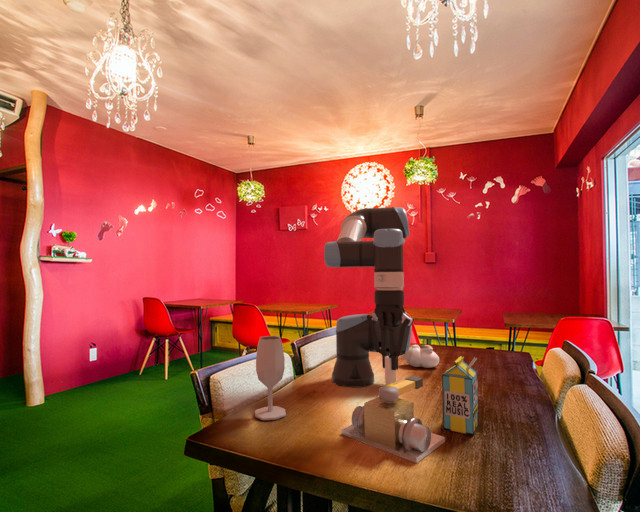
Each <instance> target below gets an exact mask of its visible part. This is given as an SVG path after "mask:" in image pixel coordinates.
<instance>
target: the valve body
mask: <svg viewBox="0 0 640 512" xmlns="http://www.w3.org/2000/svg"><path fill="white" fill-rule="evenodd" d="M414 405H415V404H414V401H412V400H407V399H403V398H400V397H399V399H398V400H397V401H383V400H381V399H379V396H377V397H374V398H372V399H370V400H368V401H366V402H364V404H363V406H362V405H357V406H356V407H355V408H354V410H353V411H352V413H351V424H349V425H348V426H346V427H344V428H342V429H341V430H340V434H341V435H342V436H345V437H348V438H350V439H353V440H356V441H358V442H361V443H363V444H366V445H369V446H371V447H373V448H376V449H379V450H381V451H384V452H386V453H389V454H391V455H394V456H397V457H399V458H402V459H404V460H406V461H407V460H408V461H410V462H413V463H415V464H418V463H419V462H420V461H421V460H423V459H424V458H426V457H427V456H428V455H429V454H431V453H432V452H434V451H435V450H437V448H439V447H440V446H441V445H443V444H444V443H445V442H446V436H443V435H440V434H437V433H433V432H432V430H431V428H430V427H429V426H427V425H424V424H423V422H422V420H421V419H420V418H417V417H415V415H414V411H415V410H414Z"/></svg>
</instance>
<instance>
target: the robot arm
mask: <svg viewBox="0 0 640 512" xmlns="http://www.w3.org/2000/svg"><path fill="white" fill-rule="evenodd" d="M409 237H410V227H409V219H408V215H407V211H406V209H405V208H404V207H403V206H402V207H399V206H397V207H394V206H392V207H373V208H372V207H371V208H369V207H367V208H361V209H357V210H356V211H354V212H351V213H350V214H348V215H347V216H346V217H345V218H344V219H343V221H342V222H341V225H340V233H339V235H338V238H337V239H336V241H335V240H333V241H327V242H326V243H325V244H324V248H323V257H324V264H325V266H326V267H328V268H337V269H338V268H373V273H374V274H373V275H374V276H373V279H374V280H373V281H374V282H373V283H374V288H375V290H374V292H373V293H374V304H375V308H374V311H373V313H371V314H367V313H361V314H360V313H359V314H352V315H350V314H349V315H345V316H342V317H340V318H338V319H337V320H336V326H335V335H336V337H335V338H336V339H335V341H336V342H335V343H336V350H335V351H336V360H335V363H334V366H333V370H332V373H331V382H332V383H333V384H335V385H338V386H342V387H346V388H347V387H349V388H355V387H356V388H358V387H367V386H370V385H372V384H374V383H375V374H374V371H373V367H372V365H371V362H370V353H379V354H380V355H381V358H382V369H384V383H385V384H386V383H388V384H391V383H394V382H395V383H396V382H397V370H399V357H400V356H401V357H402V356H403V355H404V354H405V352H407V351H408V350H409V348H410V347H411V339H412V338H411V337H412V330H413V327H412V326H413V324H414V322H415V318H414V317H410V316H408V315H409V313H407V311H406V310H405V307H404V304H405V291H404V288H405V280H404V277H405V273H404V244H405V243H406V239H407V238H409ZM362 239H373V240H362Z"/></svg>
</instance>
